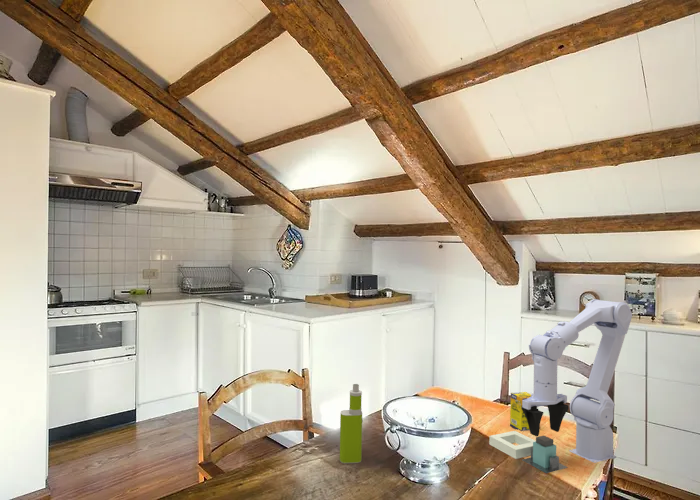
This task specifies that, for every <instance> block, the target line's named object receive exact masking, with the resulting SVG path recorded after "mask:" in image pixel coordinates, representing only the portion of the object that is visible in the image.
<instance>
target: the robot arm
mask: <svg viewBox="0 0 700 500" xmlns="http://www.w3.org/2000/svg"><path fill="white" fill-rule="evenodd" d="M632 319H633V314H632V311H631V308H630V306H629V304H628V303H626V302H624V301H613V300H612V301H611V300H602V299H597V298H594V299H592V300H590V301H589V302H586V304H585V308H584V309H583V310H582V311H581V312H580V313H578V314H577V315H576V316H574V317H573V318H572V319H571V320H570V321H565V320H564V321H559V322H557V325H555V326H553V327H551V329H549V330H547V331H546V332H544V333H543V334H537V335H535V336H533V337H532V339H531V340H530V343H529V344H528V349H529V352H530V354H531V359H532V362H533V393H530V394H531V397H529V398H527V399H525V400H522V406H521V409H522V411H523V412H524V414H525V417H526V419H527V422H528V425H529V429H530V430H529V433H530V434H531V435H533V436H535V437H539V436H540V430H541V427H540V426H541V421H542V418H543V415H544V412H543V411H541V410H539V407H543V406H544V407H545V406H547V410H548V415H549V428H550V430H552V431H554V432H556V433H558V432H559V431H560V429H561V425H562V422H563V419H564V417H565V415H566V414H567V412H568V410H569V411H570V414H571V415H572V416H573V421H575V425H576V426H575V427H576V428H575V429H576V432H575V434H576V435H575V444H576V445H575V448H573V449H569V450H568V451H569V452H570V453H572V454H574V455H576V456H578V457H580V458H583V459H585V460H587V461H589V462H591V463H599V462H603V461H606V460H609V459H613V460H615V459H617V456H616V454H615V455H614V432H613V430H612V427H611V425H612V423H613V420H614V409H615V406H616V405H615V401H614V400H613V399H612V398H611V397H610V396H609V394H608V392H609V389H610V386H611V383H612V380H613V376H614V373H615V370H616V367H617V363H618V360H619V356H620V353H621V350H622V348H623V344H624V341H625V337H626V335H627V333H628V331H629V328H630V324H631V322H632ZM592 325H594V326H595V327H596V329H597V330H599V331H600V333H601V335H602V336H601V339H600V342H599V345H598V348H597V351H596V355H595V358H594V360H593V364H592V367H591V369H590V373H589V376H588V380H587V383H586V385H585V386H583V387H580V388H578V389H577V390H576V392H575V395H574V396H573V397H572V399H571V400H570V404H569V405H568V404H566V403H568V395H566V394H563V393H558V360H559V359H561V358H562V356H563V353H564V351H565V350H566V348H567V347H568V346H570V345H572V343H574V342H575V341H577V340H578V339H579V335H580V334H579V333H580V332H582V331H584V330H585V329H587V328H589V327H590V326H592Z"/></svg>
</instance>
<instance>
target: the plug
mask: <svg viewBox="0 0 700 500" xmlns="http://www.w3.org/2000/svg"><path fill="white" fill-rule="evenodd" d="M553 456H557V444H554V439H553V438H550V437H549V436H546V435H539V436H535V442H533V462H534V463H536V464H538V465H540V466H542V467H544V468H548V467H550V457H553Z"/></svg>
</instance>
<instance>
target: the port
mask: <svg viewBox="0 0 700 500" xmlns="http://www.w3.org/2000/svg"><path fill="white" fill-rule="evenodd" d="M535 441H536V439H533V438H531V437H529V436H527V435H525V434H523V433H520V432H518V431H517V430H512V431H505V432H502V433H497V434H492V435H489V441H488V442H489V443H488V444H489V445H490V446H492V447H494V448H495V449H497V450H499V451H500V452H503V453H505V454H506V455H508V456H509V457H511V458H513V459H515V460H518V459H523V458H525V457H531V447H533V442H535ZM514 443H515V444H517V445H515V444H514Z"/></svg>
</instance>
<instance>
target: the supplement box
mask: <svg viewBox="0 0 700 500" xmlns="http://www.w3.org/2000/svg"><path fill="white" fill-rule="evenodd" d="M531 394H532V393H529V392H526V391H524V392H523V391H522V392H510V407H509V409H510V413H509V414H510V415H509V416H510V417H509V426H510V427H511V426H512V428H513V429H515V430H516V429H517V430H518V431H520V432H524V431H530V429H529V425H528V422H527V419H526V417H525V414H524V412H523V411H522V409H521V406H522V400H525V399H527V398H529V397H531ZM517 430H516V431H517Z"/></svg>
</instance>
